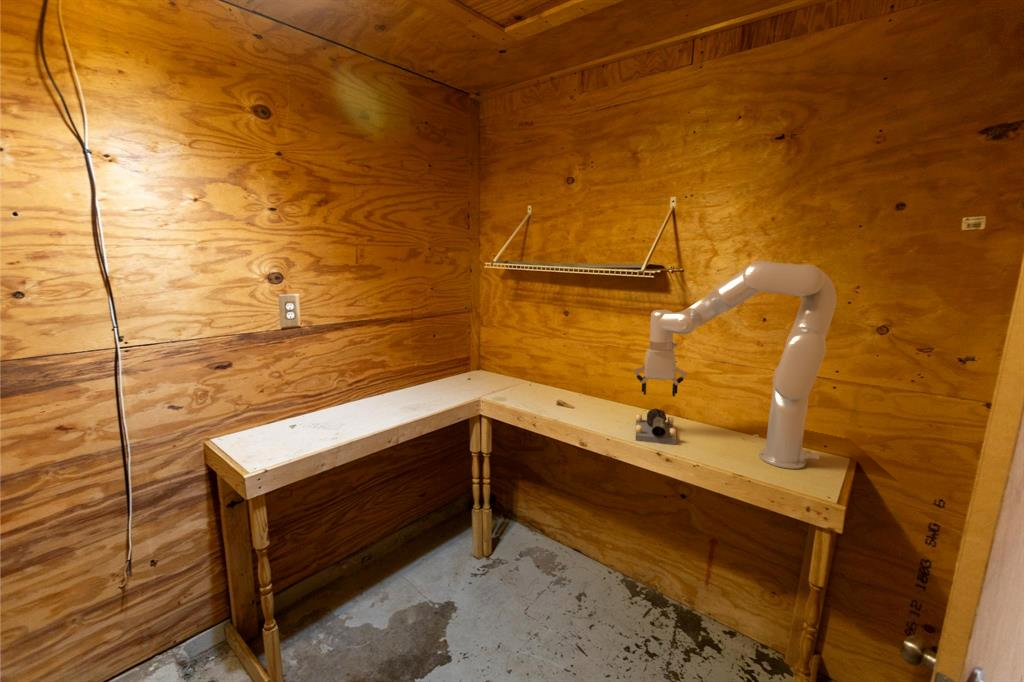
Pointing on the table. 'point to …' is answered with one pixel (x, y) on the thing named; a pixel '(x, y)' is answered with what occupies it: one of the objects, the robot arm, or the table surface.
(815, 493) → the table surface
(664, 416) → the dark elongated piece
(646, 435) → the pipe stand
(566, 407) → the table surface
